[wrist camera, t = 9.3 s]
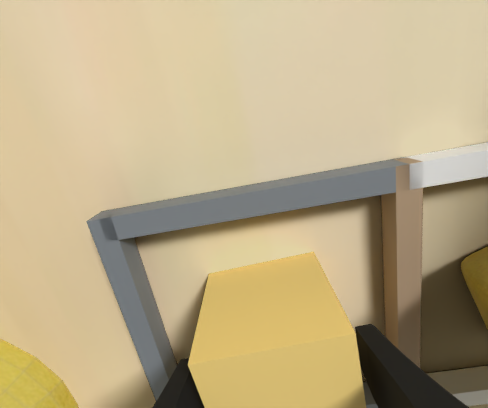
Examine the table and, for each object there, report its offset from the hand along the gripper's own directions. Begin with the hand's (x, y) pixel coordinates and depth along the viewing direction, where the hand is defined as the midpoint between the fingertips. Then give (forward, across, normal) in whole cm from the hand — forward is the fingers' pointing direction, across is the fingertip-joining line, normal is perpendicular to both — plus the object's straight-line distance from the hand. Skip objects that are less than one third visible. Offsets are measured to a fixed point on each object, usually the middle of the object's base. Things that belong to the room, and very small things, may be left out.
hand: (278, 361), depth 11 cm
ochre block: (+3, 0, 0) cm, 3 cm away
